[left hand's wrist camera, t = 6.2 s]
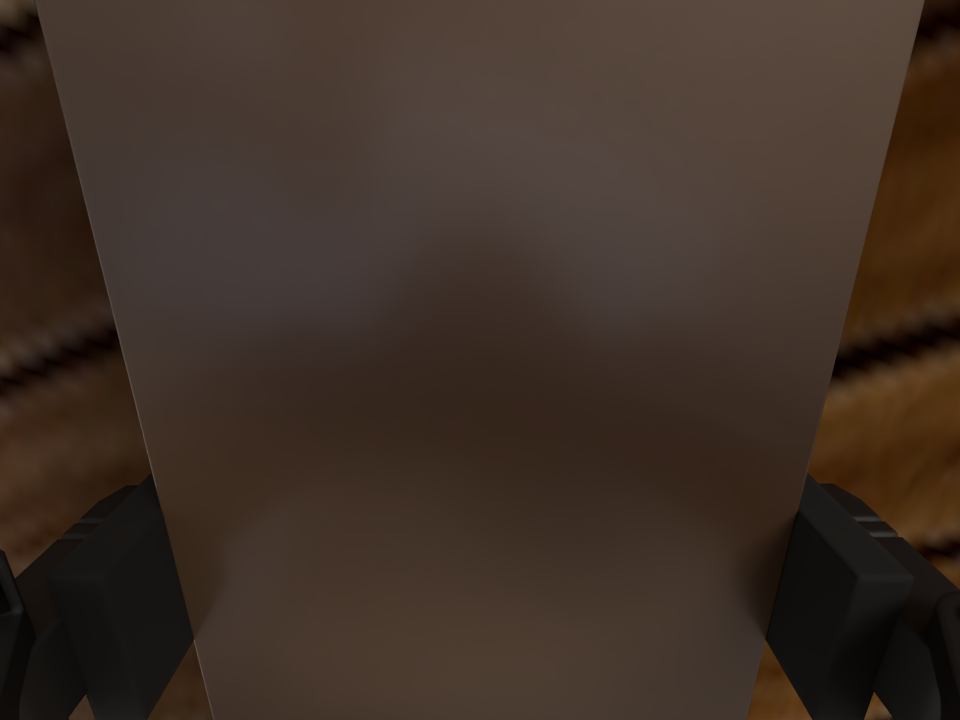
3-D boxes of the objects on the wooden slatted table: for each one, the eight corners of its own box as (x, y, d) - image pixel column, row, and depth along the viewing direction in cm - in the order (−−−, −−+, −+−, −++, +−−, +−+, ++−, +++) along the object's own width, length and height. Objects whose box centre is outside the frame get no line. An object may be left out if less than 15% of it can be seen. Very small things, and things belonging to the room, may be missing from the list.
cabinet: (262, -158, 13) (-157, -757, 4) (697, -158, 13) (1115, -755, 4) (335, 499, 19) (224, 767, 11) (624, 499, 19) (735, 767, 11)
